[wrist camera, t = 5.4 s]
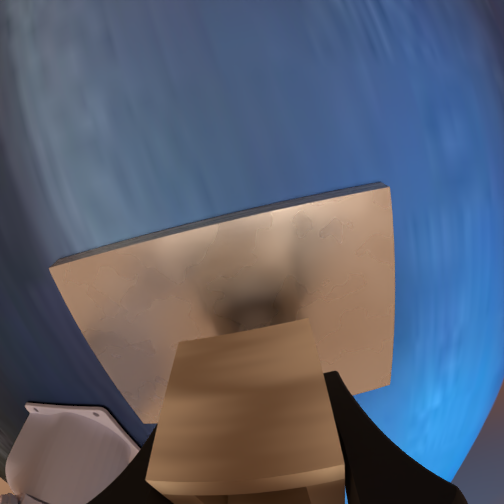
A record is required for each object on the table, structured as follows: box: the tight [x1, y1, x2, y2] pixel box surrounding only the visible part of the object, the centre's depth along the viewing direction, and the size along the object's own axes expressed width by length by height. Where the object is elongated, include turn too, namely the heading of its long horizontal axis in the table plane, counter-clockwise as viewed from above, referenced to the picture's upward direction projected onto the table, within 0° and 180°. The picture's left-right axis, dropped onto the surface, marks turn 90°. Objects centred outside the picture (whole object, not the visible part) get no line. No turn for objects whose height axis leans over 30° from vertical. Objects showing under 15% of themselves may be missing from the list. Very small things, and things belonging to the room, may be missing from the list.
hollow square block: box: [145, 318, 345, 504], centre depth 10 cm, size 5×5×6 cm
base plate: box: [49, 182, 395, 424], centre depth 13 cm, size 16×12×5 cm
